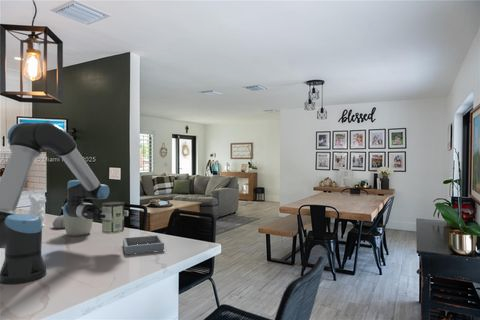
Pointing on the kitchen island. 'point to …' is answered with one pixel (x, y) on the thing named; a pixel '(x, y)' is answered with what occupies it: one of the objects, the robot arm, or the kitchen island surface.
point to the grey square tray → (145, 247)
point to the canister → (77, 225)
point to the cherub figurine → (37, 207)
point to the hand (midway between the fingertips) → (119, 215)
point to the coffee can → (113, 217)
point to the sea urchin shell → (59, 222)
